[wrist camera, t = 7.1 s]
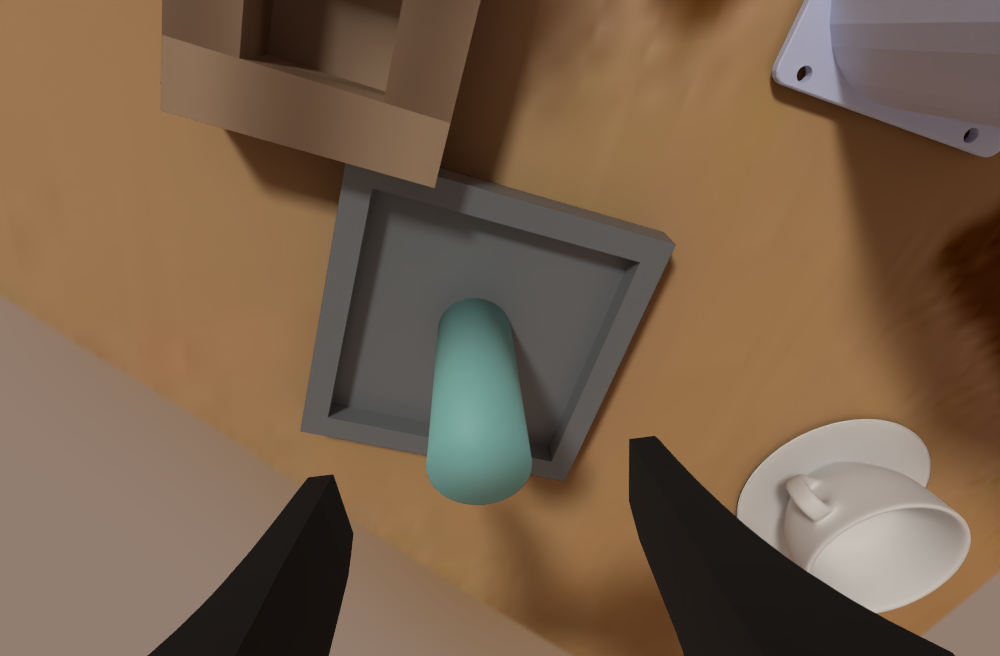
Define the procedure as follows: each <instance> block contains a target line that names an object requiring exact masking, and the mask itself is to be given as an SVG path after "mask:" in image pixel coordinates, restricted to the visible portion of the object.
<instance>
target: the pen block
mask: <svg viewBox="0 0 1000 656" xmlns="http://www.w3.org/2000/svg"><path fill="white" fill-rule="evenodd" d="M480 1H481V0H162V57H161V111H163V112H167V113H170V114H174V115H177V116H181V117H184V118H188V119H191V120H195V121H199V122H202V123H206V124H209V125H213V126H216V127H220V128H223V129H227V130H230V131H234V132H238V133H241V134H245V135H248V136H252V137H255V138H259V139H262V140H266V141H269V142H273V143H276V144H280V145H284V146H287V147H291V148H294V149H298V150H301V151H305V152H308V153H312V154H315V155H319V156H323V157H326V158H330V159H333V160H337V161H340V162H344V163H347V164H351V165H354V166H358V167H361V168H365V169H369V170H372V171H376V172H379V173H383V174H386V175H390V176H393V177H397V178H400V179H404V180H408V181H411V182H415V183H418V184H422V185H425V186H429V187H432V188H435V184H436V180H437V176H438V172H439V168H440V164H441V160H442V156H443V152H444V148H445V144H446V139H447V135H448V131H449V127H450V123H451V119H452V115H453V111H454V107H455V103H456V99H457V95H458V91H459V87H460V83H461V78H462V74H463V70H464V66H465V62H466V58H467V54H468V50H469V46H470V42H471V38H472V34H473V30H474V26H475V22H476V17H477V13H478V9H479V5H480Z"/></svg>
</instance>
